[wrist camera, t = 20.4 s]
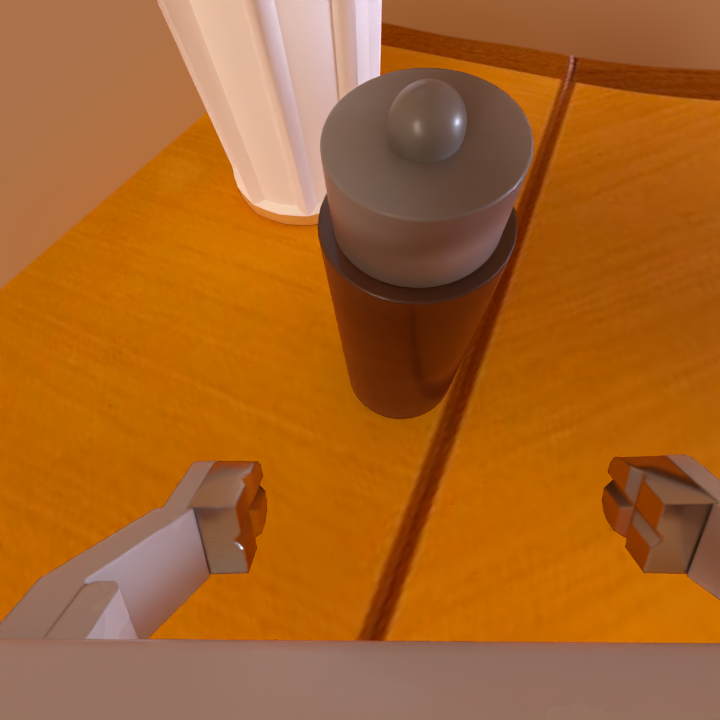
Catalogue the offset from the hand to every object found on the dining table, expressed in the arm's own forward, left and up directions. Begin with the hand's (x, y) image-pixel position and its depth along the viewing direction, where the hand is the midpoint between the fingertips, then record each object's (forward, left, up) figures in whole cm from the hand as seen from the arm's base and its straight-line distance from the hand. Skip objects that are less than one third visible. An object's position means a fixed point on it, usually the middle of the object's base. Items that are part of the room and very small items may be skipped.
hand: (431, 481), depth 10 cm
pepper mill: (-3, +6, -9) cm, 11 cm away
